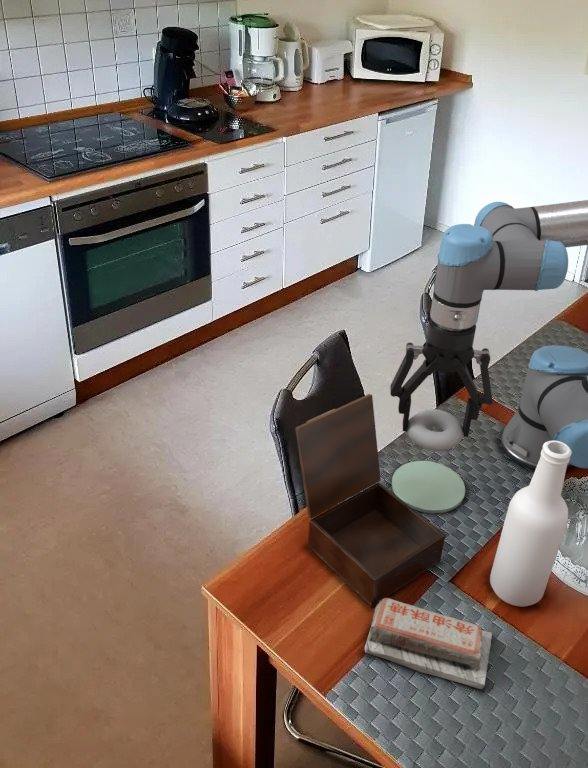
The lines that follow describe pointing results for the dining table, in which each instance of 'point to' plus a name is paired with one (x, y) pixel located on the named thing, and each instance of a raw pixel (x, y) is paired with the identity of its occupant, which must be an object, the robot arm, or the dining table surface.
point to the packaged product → (430, 642)
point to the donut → (432, 439)
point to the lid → (338, 454)
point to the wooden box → (375, 543)
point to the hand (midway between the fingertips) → (434, 429)
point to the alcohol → (532, 531)
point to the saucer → (428, 486)
